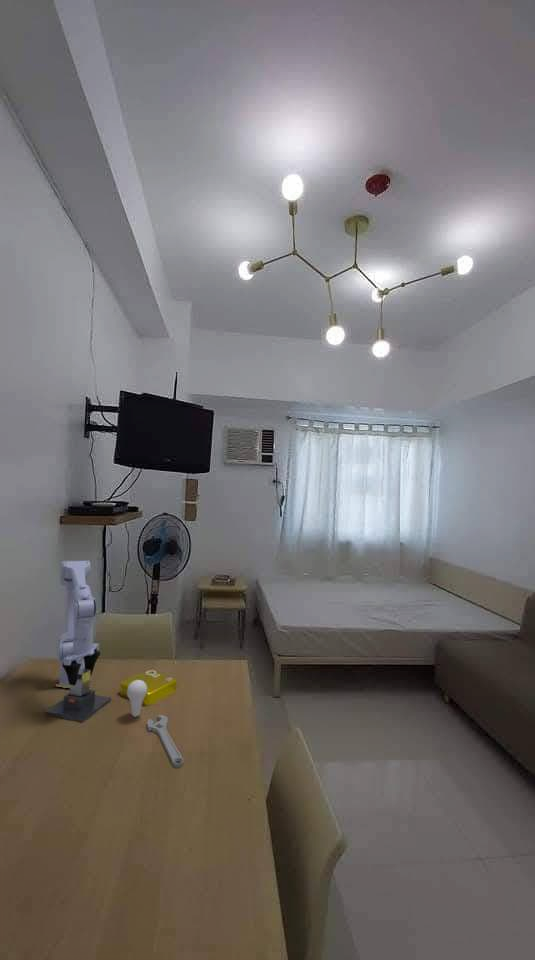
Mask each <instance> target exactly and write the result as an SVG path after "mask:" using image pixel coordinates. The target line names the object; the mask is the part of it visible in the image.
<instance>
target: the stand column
mask: <svg viewBox="0 0 535 960" xmlns="http://www.w3.org/2000/svg"><path fill="white" fill-rule="evenodd" d="M90 684H91V675H90V670H88V669H82V668H80V669H79V671H78V676H77V682H76V685H71V690H69V691H70V692H69V693H70V696H72V697H78V698H82V697H84V695H85V694H86V693H88V692H89V689H90V686H91V685H90Z"/></svg>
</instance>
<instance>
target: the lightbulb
mask: <svg viewBox="0 0 535 960" xmlns="http://www.w3.org/2000/svg"><path fill="white" fill-rule="evenodd" d="M146 693H147V686H146V684H145V682H144V681H142V680H135V681H133V682H131V683H130V685H129V686H128V688H127V696H128V698H129V699H128V698H127V699H128V700H129V702H130V709H131V716H132V717H138V716H140V714H141V708H142V706H143V705H142V701H143V699H144V697H145V695H146Z"/></svg>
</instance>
